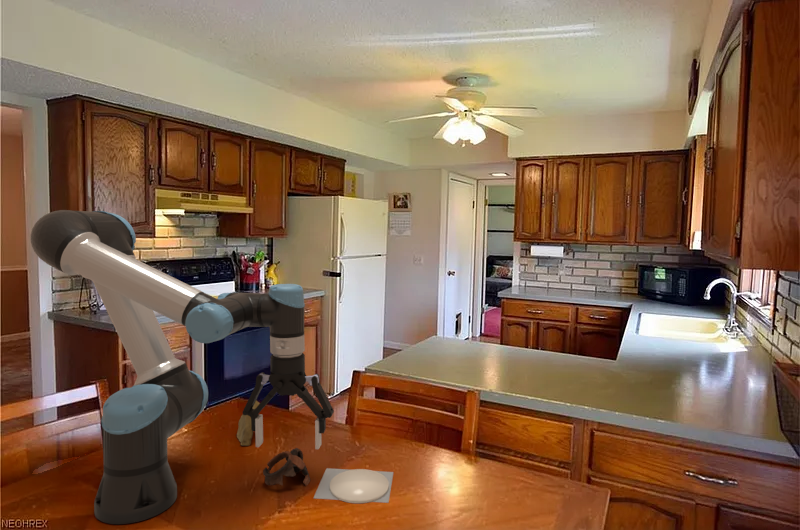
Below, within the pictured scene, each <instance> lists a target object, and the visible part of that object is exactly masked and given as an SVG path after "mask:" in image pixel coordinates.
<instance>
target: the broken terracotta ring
mask: <svg viewBox="0 0 800 530" xmlns="http://www.w3.org/2000/svg"><path fill="white" fill-rule="evenodd" d="M284 459H285V461H286V462H285V463H284V464H283V466H281V467H280V468H279V469H277V470H275V471H273V472H271V470H272V469H273V468H274V467H275V465H276V464H278V463H279V462H280V461H282V460H284ZM266 465H267V467H268V468H267V467H265V468H263V471H262V474H263V476H264V483H265V485H267V486H274V485H280V486H284V484H283V478H284V476H285V477H292V478H293V477H295V476H296V475H297V473H300V472H301V474H302V476H305V477H304V478H303V481H302V482H303V483H302V484H303V485H304V486H305V487H307V486H308V485H309V484H310V482H311V477H310V474H309V471H308V468H307V465H306V463H305V462H304V454H303V451H302V450H301V449H300V448H298V447H295V448H293V449H292V450H290V451H288V450H287V451H282V452H280V453H278V454H276V455H274V456H273V457H272V458H271V459H269V461H268V462H267V464H266Z"/></svg>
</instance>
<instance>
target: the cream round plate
mask: <svg viewBox="0 0 800 530" xmlns="http://www.w3.org/2000/svg"><path fill="white" fill-rule="evenodd" d="M376 471H377V470H372V469H365V468H356V469H355V468H354V469H348V471H345V472H342V473H339V474H338V475H336V476H335V477H334V478H333V479H332V480H331V482H330V492H331V494H332V495H333V496H334V497H335V498H337V499H339V500H338V501H341V502H345V503H348V504H349V503H350V504H366V503H367V504H368V503H373V502H372V501H375V500H378V499H380V498H382V497H383V496H384V495H385V494H386V493H387V491H388V489H389V482H388V480H387V478H386V477H385V476H384V475H382V474H381V473H378V472H376Z"/></svg>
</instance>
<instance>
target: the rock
mask: <svg viewBox="0 0 800 530" xmlns="http://www.w3.org/2000/svg"><path fill="white" fill-rule="evenodd" d="M259 404H260V402H259V401H258V400H256V402H255V404H254V406H253V408H252V409H256V407H257V406H258V405H259ZM239 418H240V419H239V420H238V422H237V423H238V424H237V425H238V429H237V433H236V434H235V435H236V438H237V440H238V441H239V442H240V446H244V447H245V446H247V447H249V446H251V444H252V439H253V435H254V431H252V429H251V417H250V416H248V415H243V413H242V415H240V417H239Z"/></svg>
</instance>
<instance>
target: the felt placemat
mask: <svg viewBox="0 0 800 530" xmlns="http://www.w3.org/2000/svg"><path fill="white" fill-rule="evenodd" d="M348 470H349V469H346V468H345V469H344V468H343V469H342V468H329V467H327V468H326V469H325V471H324V473H323V475H322V478H321V479H320V482H319V484H318V487H317V489H316V491H315V493H314V496H313V499H319V500H336V501H340V500H339V499H337V498H335V497H334V496H333V495H332V494H331V492H330V482H331V480H332V479H333V478H334V477H335V476H336V475H338V474H339V473H342V472H345V471H348ZM375 471H376V472H378V473H381V474H382V475H384V476H385V477H386V478H387V480H388V482H389V489H388V491H387V493H386V494H385V495H384V496H383V497H382V498H380V499H378V500H375V501H372V502H371V503H380V504H381V503H384V504H385V503H386V504H389V501H390V497H391V490H392V484H393V477H394V471H381V470H379V471H378V470H375Z"/></svg>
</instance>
